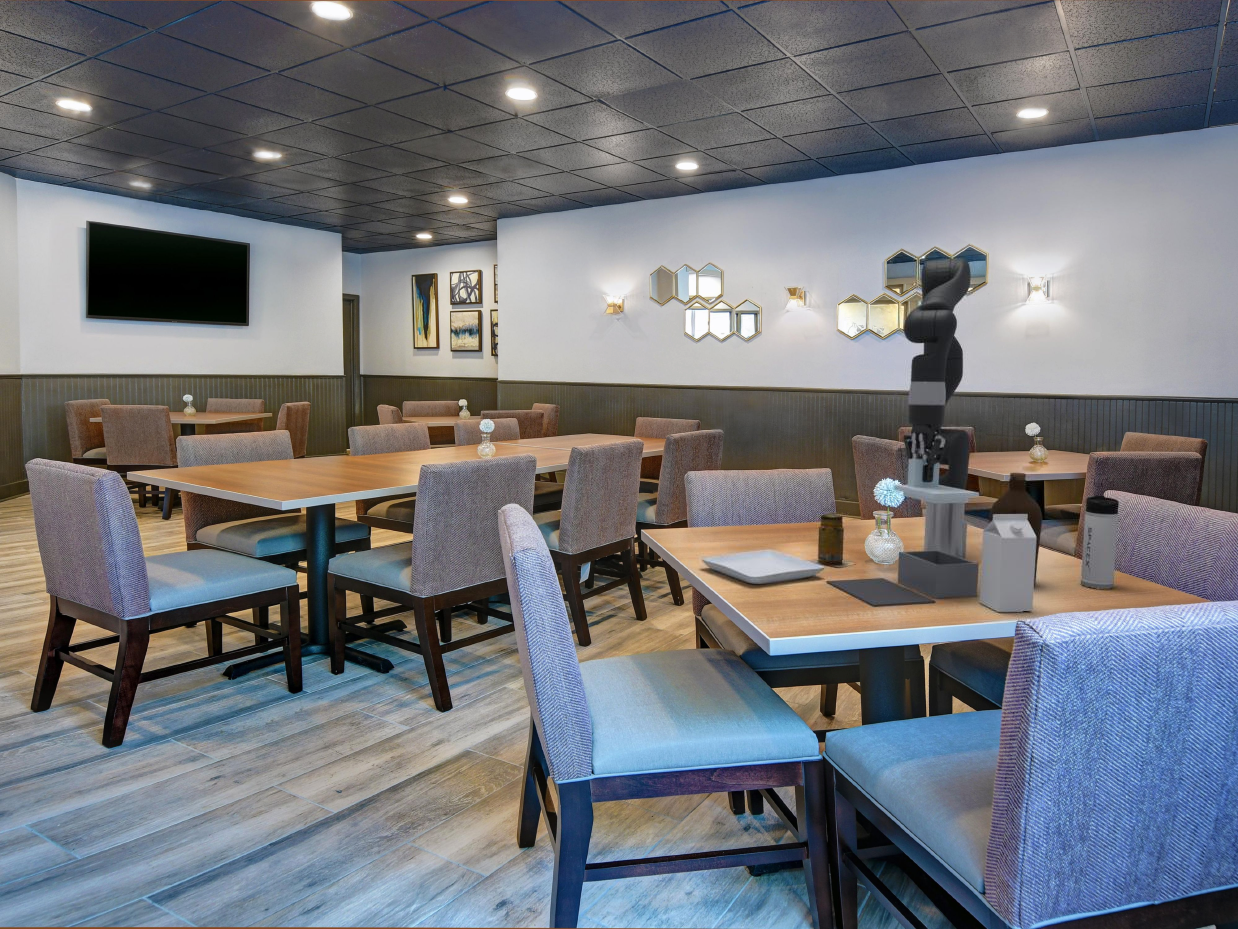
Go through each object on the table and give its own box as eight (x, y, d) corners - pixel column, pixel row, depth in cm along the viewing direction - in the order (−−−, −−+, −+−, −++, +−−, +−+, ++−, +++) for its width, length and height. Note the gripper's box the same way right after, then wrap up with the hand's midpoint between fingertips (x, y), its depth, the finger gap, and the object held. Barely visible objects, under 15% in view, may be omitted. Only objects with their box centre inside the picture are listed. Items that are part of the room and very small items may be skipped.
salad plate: (752, 590, 176) (752, 575, 176) (698, 570, 195) (698, 556, 195) (827, 580, 186) (827, 565, 186) (769, 562, 205) (769, 548, 205)
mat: (882, 579, 186) (882, 577, 186) (935, 602, 166) (935, 600, 166) (826, 582, 182) (826, 580, 182) (873, 606, 163) (873, 604, 163)
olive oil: (1047, 589, 178) (1054, 476, 175) (999, 589, 178) (1005, 475, 175) (1023, 578, 188) (1030, 470, 186) (978, 577, 188) (983, 470, 186)
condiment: (827, 558, 208) (829, 512, 207) (855, 564, 201) (857, 516, 200) (809, 562, 203) (811, 515, 202) (838, 568, 197) (839, 519, 196)
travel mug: (1108, 583, 183) (1114, 496, 181) (1116, 590, 177) (1122, 500, 175) (1077, 581, 185) (1083, 494, 183) (1083, 588, 179) (1089, 498, 177)
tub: (897, 582, 183) (899, 551, 182) (936, 580, 185) (938, 550, 185) (935, 598, 170) (936, 565, 169) (977, 595, 172) (978, 563, 171)
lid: (893, 494, 181) (895, 458, 180) (935, 494, 183) (937, 457, 183) (933, 504, 167) (935, 464, 166) (978, 503, 169) (980, 464, 168)
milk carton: (978, 603, 166) (983, 511, 164) (1012, 602, 167) (1017, 511, 165) (997, 613, 159) (1003, 517, 157) (1032, 612, 160) (1038, 517, 158)
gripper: (962, 403, 172) (958, 485, 173) (923, 402, 185) (919, 477, 187) (930, 403, 170) (926, 485, 171) (893, 402, 183) (890, 478, 185)
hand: (923, 481), depth 179 cm, fingers closed on lid, 2 cm apart
